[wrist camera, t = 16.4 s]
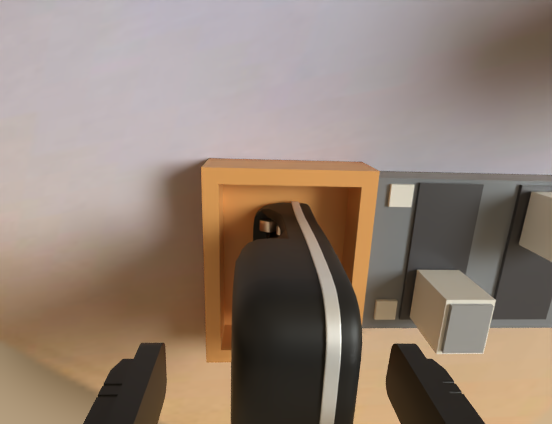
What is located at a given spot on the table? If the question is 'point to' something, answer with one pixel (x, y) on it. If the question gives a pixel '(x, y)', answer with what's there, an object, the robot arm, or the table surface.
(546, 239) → the breaker
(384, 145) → the table surface
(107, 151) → the table surface
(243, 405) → the battery charger
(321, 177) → the tray
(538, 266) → the panel
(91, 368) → the table surface
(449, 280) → the block
